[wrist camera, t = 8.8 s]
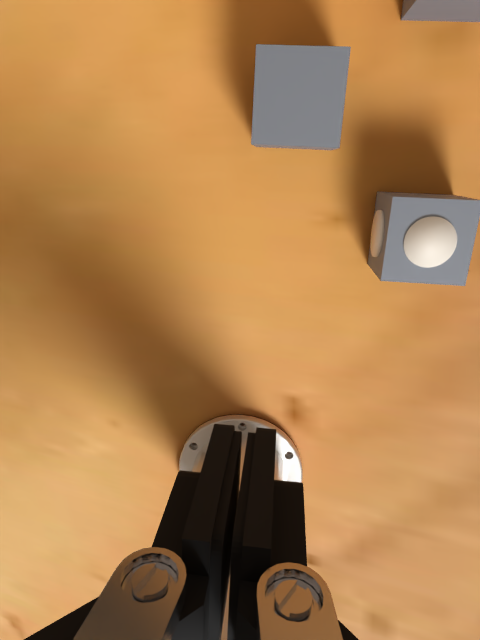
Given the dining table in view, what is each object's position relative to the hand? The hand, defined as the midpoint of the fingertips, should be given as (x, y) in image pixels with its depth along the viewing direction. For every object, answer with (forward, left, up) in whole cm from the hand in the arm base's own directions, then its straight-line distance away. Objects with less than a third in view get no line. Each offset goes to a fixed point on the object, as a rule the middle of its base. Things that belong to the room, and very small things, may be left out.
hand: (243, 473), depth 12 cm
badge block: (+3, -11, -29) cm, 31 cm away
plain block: (+12, -1, -29) cm, 32 cm away
